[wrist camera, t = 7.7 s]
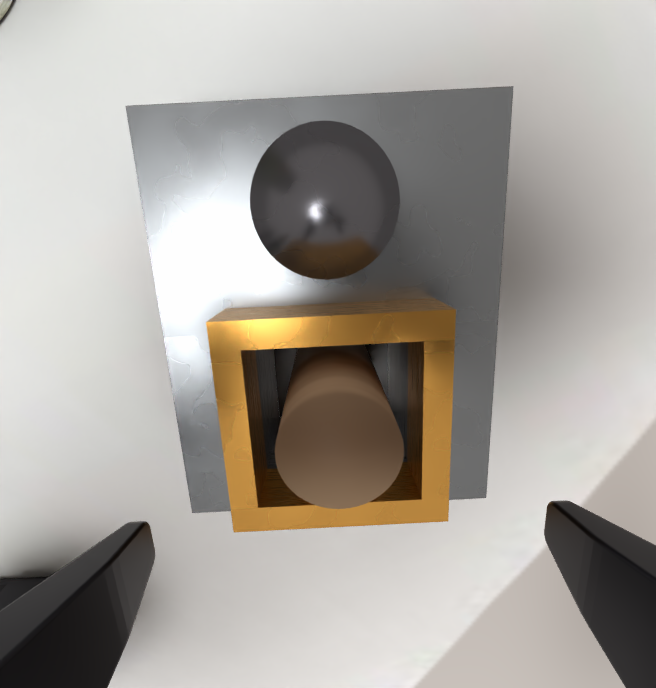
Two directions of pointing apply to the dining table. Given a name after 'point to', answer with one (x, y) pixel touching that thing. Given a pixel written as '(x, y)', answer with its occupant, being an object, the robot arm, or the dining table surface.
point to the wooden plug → (337, 429)
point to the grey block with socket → (328, 280)
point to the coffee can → (4, 7)
